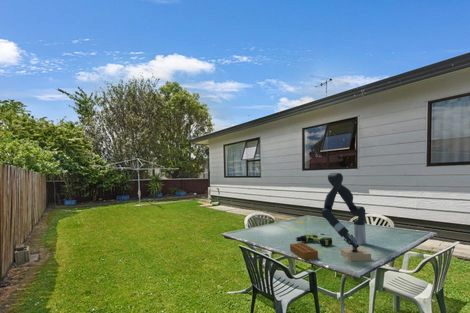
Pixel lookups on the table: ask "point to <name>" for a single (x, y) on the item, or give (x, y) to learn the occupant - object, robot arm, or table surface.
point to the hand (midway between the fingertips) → (357, 247)
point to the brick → (304, 251)
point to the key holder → (355, 254)
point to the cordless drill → (315, 239)
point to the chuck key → (355, 244)
